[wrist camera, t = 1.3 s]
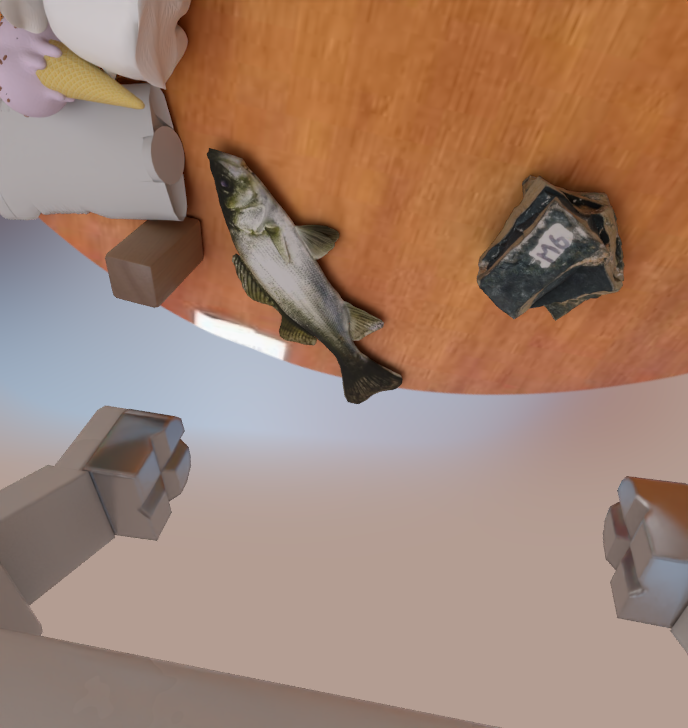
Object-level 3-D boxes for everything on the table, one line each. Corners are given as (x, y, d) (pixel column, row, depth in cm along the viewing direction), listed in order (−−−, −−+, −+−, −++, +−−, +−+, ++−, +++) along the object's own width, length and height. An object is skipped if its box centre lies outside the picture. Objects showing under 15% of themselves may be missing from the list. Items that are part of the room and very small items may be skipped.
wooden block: (164, 249, 51) (111, 298, 45) (158, 208, 49) (101, 254, 43) (205, 260, 51) (158, 310, 45) (201, 218, 48) (150, 266, 42)
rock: (555, 311, 44) (553, 357, 40) (465, 232, 42) (454, 272, 38) (658, 238, 39) (669, 282, 34) (560, 143, 37) (559, 179, 32)
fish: (274, 109, 41) (171, 166, 45) (261, 121, 39) (156, 179, 43) (422, 378, 53) (330, 401, 58) (418, 397, 51) (323, 420, 56)
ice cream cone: (115, 34, 32) (-38, -25, 37) (92, 162, 35) (-48, 89, 40) (191, 63, 37) (46, 8, 42) (166, 173, 40) (33, 107, 45)
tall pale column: (169, 234, 44) (-43, 225, 51) (197, 218, 47) (-5, 211, 54) (133, 79, 39) (-98, 92, 46) (169, 73, 42) (-52, 86, 49)
